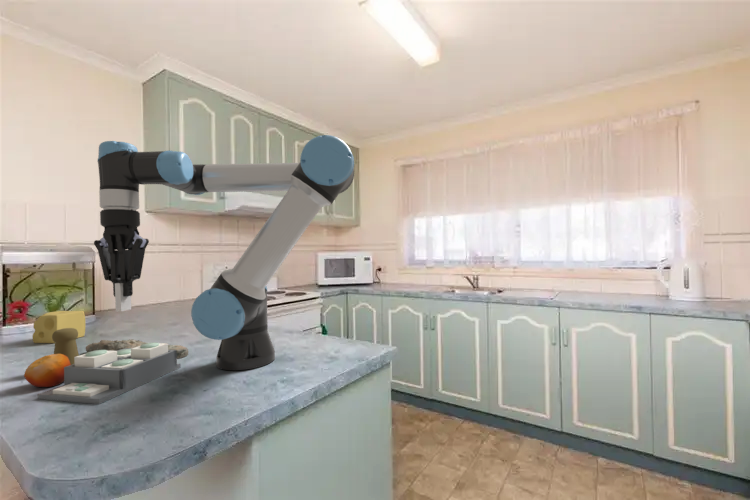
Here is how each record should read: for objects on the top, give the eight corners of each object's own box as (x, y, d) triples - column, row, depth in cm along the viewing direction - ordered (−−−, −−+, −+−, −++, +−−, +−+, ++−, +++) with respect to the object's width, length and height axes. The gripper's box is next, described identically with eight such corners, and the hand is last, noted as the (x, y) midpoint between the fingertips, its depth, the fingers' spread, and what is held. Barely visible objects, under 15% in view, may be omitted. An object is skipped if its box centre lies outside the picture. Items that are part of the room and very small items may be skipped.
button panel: (180, 367, 92) (180, 348, 92) (99, 404, 71) (98, 379, 71) (130, 364, 96) (129, 346, 96) (38, 398, 74) (37, 375, 74)
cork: (63, 374, 89) (62, 331, 89) (44, 373, 90) (43, 331, 90) (87, 366, 95) (85, 326, 95) (69, 365, 96) (68, 326, 96)
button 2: (143, 372, 83) (143, 358, 83) (122, 381, 77) (121, 366, 77) (124, 371, 84) (123, 357, 84) (101, 380, 79) (101, 365, 79)
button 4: (168, 355, 90) (167, 341, 90) (150, 362, 85) (149, 348, 85) (150, 354, 91) (149, 341, 91) (130, 361, 86) (130, 347, 86)
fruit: (87, 371, 87) (67, 348, 83) (55, 399, 80) (32, 375, 76) (66, 368, 89) (46, 346, 85) (34, 395, 83) (10, 372, 79)
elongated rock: (171, 368, 97) (197, 359, 106) (172, 349, 97) (198, 341, 107) (72, 356, 104) (104, 348, 114) (73, 338, 105) (105, 332, 114)
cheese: (32, 343, 123) (31, 315, 123) (64, 335, 133) (63, 309, 133) (56, 344, 121) (56, 315, 121) (87, 336, 132) (86, 309, 132)
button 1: (117, 363, 84) (117, 349, 84) (94, 371, 79) (94, 356, 79) (98, 362, 86) (98, 348, 86) (74, 370, 80) (74, 355, 80)
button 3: (144, 361, 92) (143, 348, 92) (124, 368, 86) (124, 354, 86) (126, 360, 93) (126, 347, 93) (106, 367, 87) (105, 353, 87)
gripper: (157, 210, 84) (160, 307, 84) (111, 212, 87) (114, 307, 87) (130, 206, 77) (133, 313, 77) (81, 209, 79) (84, 313, 79)
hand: (123, 310), depth 82 cm, fingers closed
